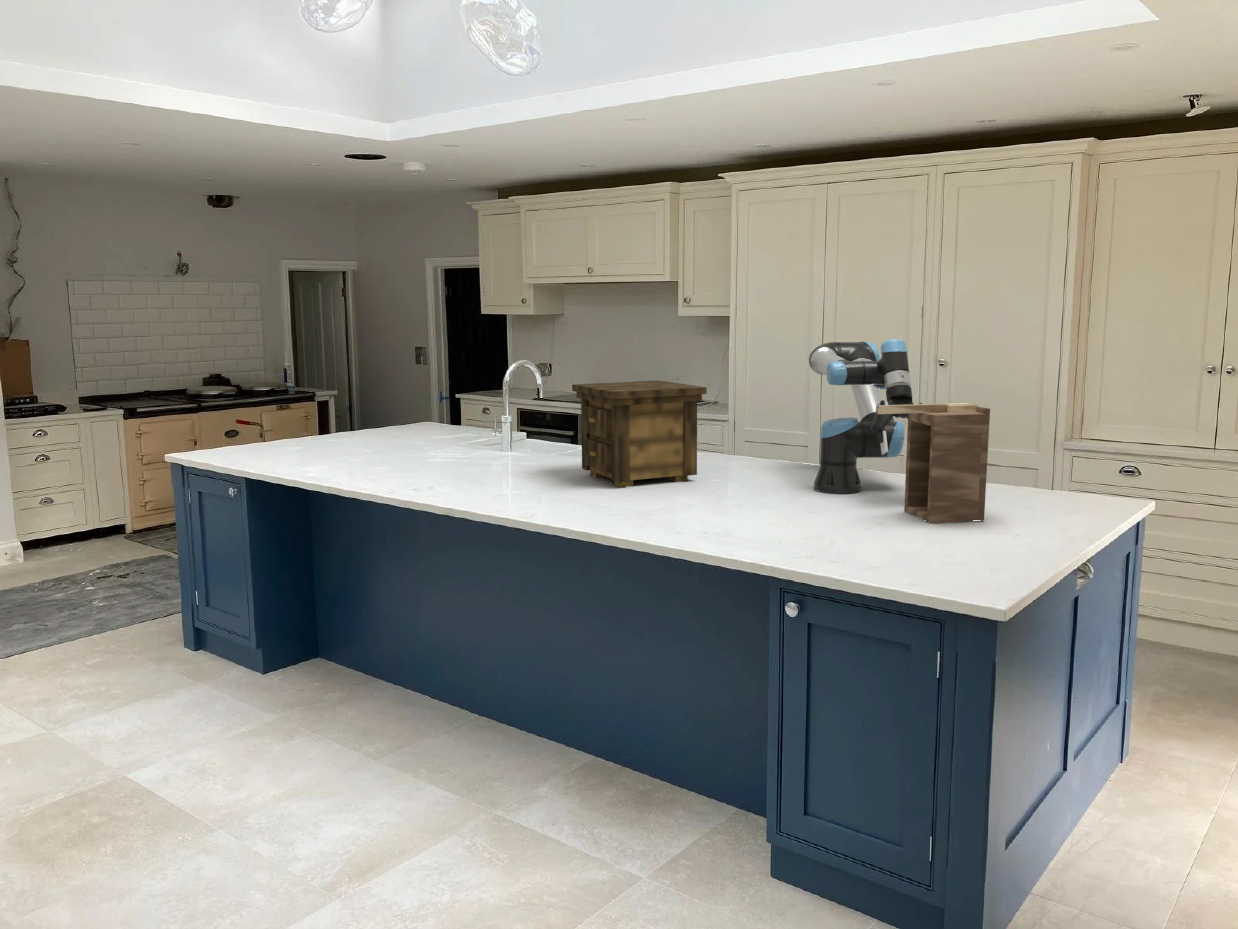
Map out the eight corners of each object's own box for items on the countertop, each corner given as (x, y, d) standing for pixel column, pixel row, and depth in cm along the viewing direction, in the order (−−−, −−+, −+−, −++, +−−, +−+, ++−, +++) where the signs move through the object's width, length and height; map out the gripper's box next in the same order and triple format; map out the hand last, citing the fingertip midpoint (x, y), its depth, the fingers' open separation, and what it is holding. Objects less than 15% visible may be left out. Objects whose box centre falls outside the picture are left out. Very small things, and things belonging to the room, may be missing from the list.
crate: (706, 481, 330) (706, 387, 325) (613, 490, 316) (612, 391, 310) (659, 467, 362) (659, 380, 356) (573, 474, 347) (572, 384, 342)
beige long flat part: (873, 412, 268) (873, 404, 268) (966, 410, 272) (966, 402, 272) (881, 414, 263) (882, 406, 262) (976, 412, 267) (976, 404, 267)
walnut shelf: (904, 511, 280) (908, 404, 275) (955, 509, 283) (960, 402, 277) (930, 523, 264) (935, 410, 259) (984, 521, 267) (990, 408, 262)
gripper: (865, 380, 285) (872, 447, 278) (942, 386, 290) (951, 452, 283) (854, 390, 292) (861, 456, 285) (929, 395, 297) (938, 460, 290)
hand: (906, 454), depth 284 cm, fingers open, 13 cm apart
